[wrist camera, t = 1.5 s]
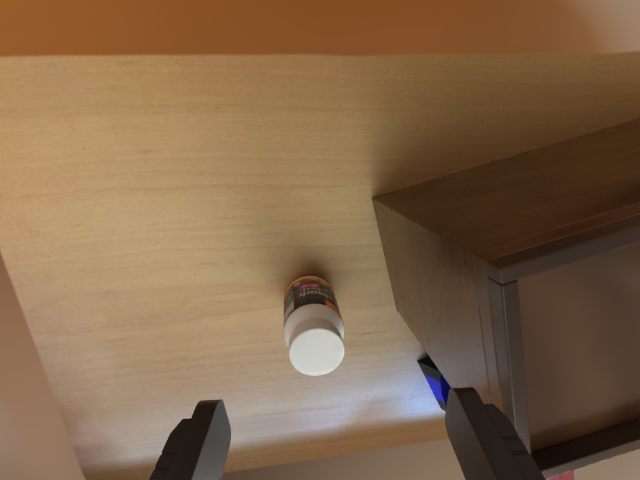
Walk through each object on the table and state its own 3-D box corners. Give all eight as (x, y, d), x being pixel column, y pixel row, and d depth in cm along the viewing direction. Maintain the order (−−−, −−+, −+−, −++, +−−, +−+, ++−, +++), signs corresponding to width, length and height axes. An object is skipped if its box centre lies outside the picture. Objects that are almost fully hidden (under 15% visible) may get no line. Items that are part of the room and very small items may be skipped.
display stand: (396, 309, 36) (521, 487, 17) (371, 198, 32) (500, 269, 13) (660, 228, 37) (1059, 312, 18) (669, 109, 33) (1207, 52, 14)
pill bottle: (339, 279, 34) (359, 328, 25) (326, 322, 36) (341, 385, 26) (290, 269, 33) (292, 316, 24) (278, 314, 35) (276, 376, 25)
